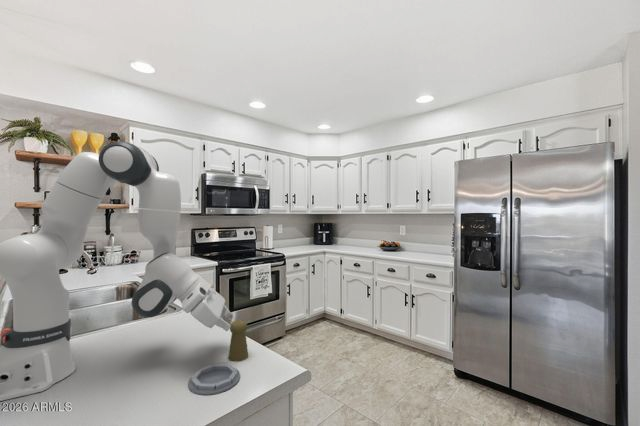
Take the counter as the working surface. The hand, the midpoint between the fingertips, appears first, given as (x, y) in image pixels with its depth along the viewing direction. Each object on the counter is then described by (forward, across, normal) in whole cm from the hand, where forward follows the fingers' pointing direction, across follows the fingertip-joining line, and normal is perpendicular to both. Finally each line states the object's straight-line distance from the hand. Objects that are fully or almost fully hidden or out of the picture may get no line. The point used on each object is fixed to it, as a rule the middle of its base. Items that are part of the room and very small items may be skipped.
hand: (230, 322), depth 92 cm
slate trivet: (+5, +12, -10) cm, 17 cm away
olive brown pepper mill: (+9, 0, -6) cm, 11 cm away
